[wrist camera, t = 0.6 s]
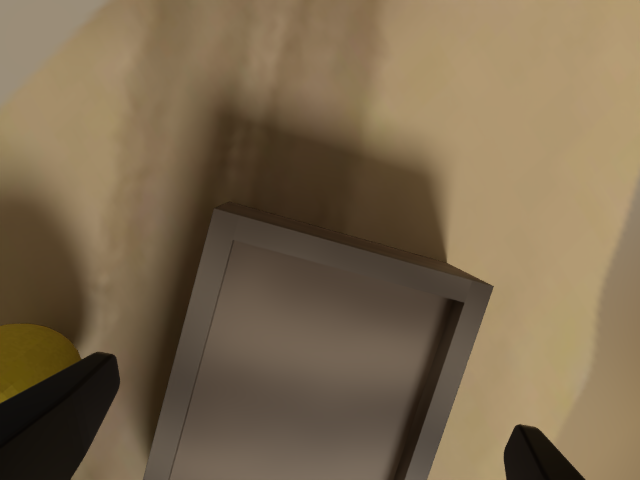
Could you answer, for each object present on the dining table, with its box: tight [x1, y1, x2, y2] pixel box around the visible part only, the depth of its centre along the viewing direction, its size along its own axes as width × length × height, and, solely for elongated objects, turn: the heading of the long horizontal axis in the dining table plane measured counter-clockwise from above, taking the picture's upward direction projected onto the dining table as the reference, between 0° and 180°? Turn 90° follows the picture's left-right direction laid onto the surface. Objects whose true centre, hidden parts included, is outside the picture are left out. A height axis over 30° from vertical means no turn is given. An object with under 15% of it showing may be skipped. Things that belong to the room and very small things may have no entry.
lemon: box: [0, 323, 81, 403], centre depth 18 cm, size 6×6×8 cm
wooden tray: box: [143, 202, 494, 480], centre depth 20 cm, size 16×12×5 cm
